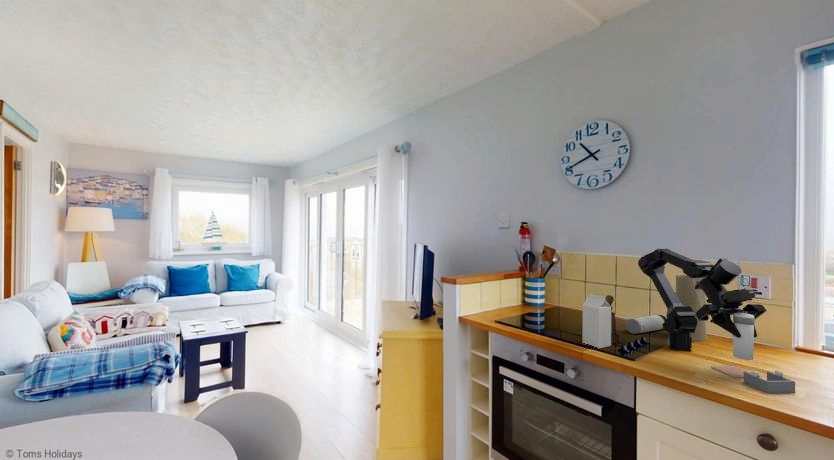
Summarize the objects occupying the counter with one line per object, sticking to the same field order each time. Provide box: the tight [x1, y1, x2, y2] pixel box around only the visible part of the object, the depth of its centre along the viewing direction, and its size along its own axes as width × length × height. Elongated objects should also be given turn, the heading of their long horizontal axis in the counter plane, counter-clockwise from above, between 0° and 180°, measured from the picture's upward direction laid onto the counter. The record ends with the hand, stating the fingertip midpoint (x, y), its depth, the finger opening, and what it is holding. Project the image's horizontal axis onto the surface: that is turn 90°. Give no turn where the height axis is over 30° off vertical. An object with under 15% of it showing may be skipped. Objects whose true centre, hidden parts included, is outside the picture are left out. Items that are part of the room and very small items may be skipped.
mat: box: [711, 365, 761, 379], centre depth 113 cm, size 8×8×1 cm
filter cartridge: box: [732, 313, 756, 361], centre depth 110 cm, size 5×5×13 cm
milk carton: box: [582, 293, 612, 349], centre depth 139 cm, size 7×7×19 cm
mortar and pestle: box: [604, 295, 620, 344], centre depth 145 cm, size 7×6×18 cm
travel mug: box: [625, 314, 667, 335], centre depth 158 cm, size 6×7×20 cm
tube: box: [675, 274, 707, 343], centre depth 149 cm, size 10×10×25 cm
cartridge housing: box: [743, 370, 796, 394], centre depth 103 cm, size 7×9×4 cm
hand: (747, 337), depth 109 cm, fingers closed on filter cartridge, 5 cm apart
